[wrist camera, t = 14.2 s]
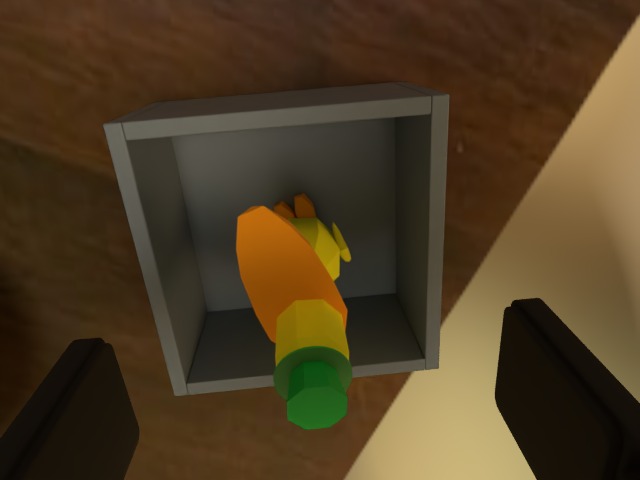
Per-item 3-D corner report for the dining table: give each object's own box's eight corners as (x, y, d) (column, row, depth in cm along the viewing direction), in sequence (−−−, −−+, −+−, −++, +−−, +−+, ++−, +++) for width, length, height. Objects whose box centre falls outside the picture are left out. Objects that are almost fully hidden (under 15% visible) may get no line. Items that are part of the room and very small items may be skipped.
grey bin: (405, 80, 20) (449, 94, 15) (405, 296, 24) (439, 369, 19) (153, 102, 20) (101, 123, 14) (200, 317, 24) (174, 396, 19)
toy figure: (230, 164, 20) (163, 299, 9) (301, 132, 20) (318, 235, 9) (291, 281, 23) (294, 495, 12) (355, 255, 23) (418, 450, 12)
